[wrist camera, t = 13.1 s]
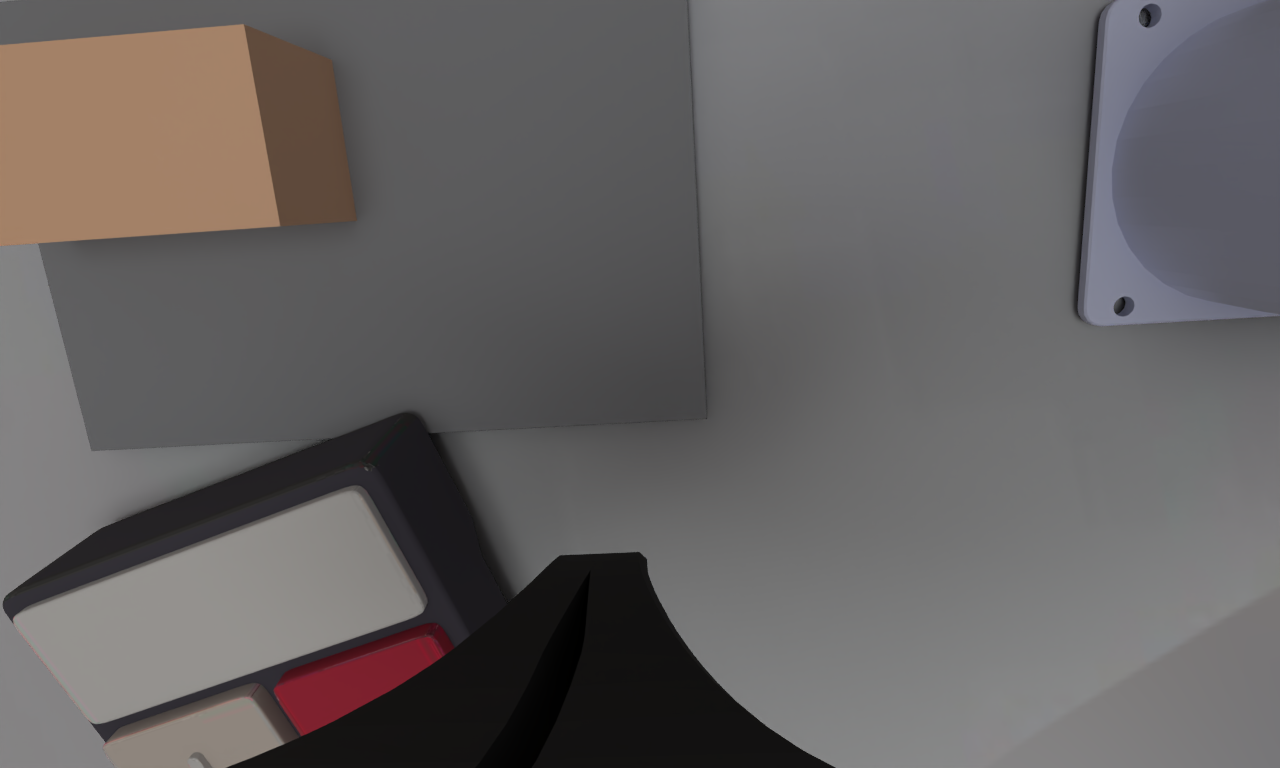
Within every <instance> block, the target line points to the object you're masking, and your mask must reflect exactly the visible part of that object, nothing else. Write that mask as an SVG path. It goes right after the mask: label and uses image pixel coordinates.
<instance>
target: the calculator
mask: <svg viewBox="0 0 1280 768" xmlns="http://www.w3.org/2000/svg"><path fill="white" fill-rule="evenodd" d="M506 605H507V602H506V601H505V599H504V597H503V595H502V593H501V591H500V589H499V587H498V585H497V584H496V582H495V580H494V578H493V576H492V574H491V572H490V570H489V568H488V567H487V565H486V563H485V561H484V559H483V557H482V554H481V551H480V547H479V543H478V539H477V535H476V531H475V528H474V524H473V520H472V517H471V515H470V513H469V511H468V509H467V507H466V505H465V503H464V502H463V500H462V498H461V496H460V494H459V492H458V490H457V488H456V486H455V484H454V482H453V481H452V479H451V477H450V475H449V473H448V471H447V469H446V467H445V465H444V463H443V461H442V460H441V458H440V456H439V454H438V452H437V450H436V448H435V446H434V444H433V442H432V440H431V439H430V437H429V435H428V433H427V431H426V429H425V427H424V425H423V424H422V422H421V421H420V419H419V418H418V417H417V416H415V415H413V414H410V413H401V414H397V415H394V416H391V417H389V418H386V419H384V420H381V421H378V422H376V423H373V424H371V425H368V426H365V427H363V428H360V429H358V430H355V431H352V432H350V433H347V434H345V435H342V436H339V437H337V438H334V439H332V440H329V441H326V442H324V443H321V444H319V445H316V446H313V447H311V448H308V449H306V450H303V451H300V452H298V453H295V454H293V455H290V456H287V457H285V458H282V459H280V460H277V461H274V462H272V463H269V464H267V465H264V466H261V467H259V468H256V469H254V470H251V471H248V472H246V473H243V474H241V475H238V476H235V477H233V478H230V479H228V480H225V481H222V482H220V483H217V484H215V485H212V486H209V487H207V488H204V489H202V490H199V491H196V492H194V493H191V494H189V495H186V496H183V497H181V498H178V499H176V500H173V501H170V502H168V503H165V504H163V505H160V506H157V507H155V508H152V509H150V510H147V511H144V512H142V513H139V514H137V515H134V516H131V517H129V518H126V519H124V520H121V521H118V522H116V523H113V524H111V525H108V526H106V527H103V528H101V529H99V530H98V531H96V532H95V533H93V534H92V535H90V536H89V537H87V538H86V539H85V540H83V541H82V542H80V543H79V544H78V545H76V546H75V547H73V548H72V549H71V550H69V551H68V552H66V553H65V554H63V555H62V556H61V557H59V558H58V559H56V560H55V561H54V562H52V563H51V564H49V565H48V566H46V567H45V568H44V569H42V570H41V571H39V572H38V573H37V574H35V575H34V576H32V577H31V578H29V579H28V580H27V581H25V582H24V583H23V584H21V585H20V586H18V587H17V588H16V589H14V590H13V591H12V592H10V593H9V594H8V595H7V596H6V597H5V598H4V601H3V609H4V611H5V613H6V614H7V616H8V617H9V619H10V620H11V621H12V623H13V624H14V625H15V627H16V629H17V630H18V631H19V633H20V634H21V635H22V637H23V638H24V639H25V640H26V642H27V643H28V644H29V646H30V647H31V648H32V649H33V651H34V652H35V653H36V655H37V656H38V657H39V658H40V660H41V661H42V662H43V664H44V665H45V666H46V667H47V669H48V670H49V671H50V673H51V674H52V675H53V676H54V678H55V679H56V680H57V682H58V683H59V684H60V685H61V687H62V688H63V689H64V691H65V692H66V693H67V694H68V696H69V697H70V698H71V700H72V701H73V702H74V703H75V705H76V706H77V707H78V709H79V710H80V711H81V712H82V714H83V715H84V716H85V717H86V718H87V719H88V720H89V721H90V723H91V724H92V725H93V727H94V728H95V729H96V730H97V732H98V733H99V734H100V736H101V737H102V738H103V739H104V741H105V742H106V743H105V744H104V746H103V750H104V752H105V754H106V755H107V757H108V758H109V760H110V761H111V762H112V764H113V765H114V766H115V767H116V768H226V767H229V766H231V765H234V764H236V763H239V762H242V761H244V760H247V759H249V758H252V757H254V756H257V755H259V754H262V753H264V752H266V751H269V750H271V749H273V748H276V747H278V746H281V745H283V744H285V743H288V742H290V741H292V740H294V739H297V738H299V737H301V736H303V735H305V734H308V733H310V732H312V731H314V730H316V729H318V728H321V727H323V726H325V725H327V724H329V723H331V722H333V721H335V720H337V719H339V718H340V717H342V716H344V715H346V714H348V713H350V712H352V711H353V710H355V709H357V708H359V707H361V706H363V705H365V704H366V703H368V702H370V701H372V700H374V699H376V698H377V697H379V696H381V695H383V694H385V693H387V692H389V691H390V690H392V689H394V688H395V687H397V686H399V685H400V684H402V683H404V682H405V681H407V680H408V679H410V678H411V677H413V676H414V675H416V674H417V673H419V672H421V671H422V670H424V669H425V668H427V667H428V666H430V665H431V664H433V663H434V662H436V661H437V660H438V659H440V658H441V657H443V656H444V655H446V654H447V653H448V652H450V651H451V650H452V649H454V648H455V647H456V646H458V645H459V644H460V643H461V642H462V641H464V640H465V639H466V638H467V637H469V636H470V635H471V634H472V633H474V632H475V631H476V630H477V629H479V628H480V627H481V626H482V625H483V624H485V623H486V622H487V621H488V620H490V619H491V618H492V617H493V616H495V615H496V614H497V613H498V612H499V611H500V610H501V609H503V608H504V607H505V606H506Z"/></svg>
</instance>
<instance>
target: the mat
mask: <svg viewBox="0 0 1280 768" xmlns="http://www.w3.org/2000/svg"><path fill="white" fill-rule="evenodd" d="M240 24H245V25H247V26H250V27H252V28H254V29H257V30H259V31H262V32H264V33H267V34H269V35H272V36H274V37H277V38H279V39H281V40H284V41H286V42H289V43H291V44H294V45H296V46H299V47H301V48H304V49H306V50H309V51H311V52H313V53H316V54H318V55H321V56H323V57H326V58H328V59H331V60H332V64H333V71H334V77H335V83H336V90H337V96H338V103H339V109H340V116H341V122H342V128H343V135H344V141H345V148H346V154H347V160H348V167H349V173H350V180H351V186H352V193H353V199H354V205H355V212H356V218H357V221H347V222H333V223H320V224H306V225H292V226H278V227H263V228H249V229H235V230H220V231H206V232H192V233H177V234H163V235H149V236H135V237H120V238H106V239H92V240H77V241H63V242H49V243H38V245H39V248H40V252H41V256H42V260H43V264H44V268H45V272H46V276H47V280H48V283H49V287H50V291H51V295H52V299H53V303H54V307H55V311H56V314H57V318H58V322H59V326H60V330H61V334H62V338H63V342H64V346H65V349H66V353H67V357H68V361H69V365H70V369H71V373H72V377H73V381H74V384H75V388H76V392H77V396H78V400H79V404H80V408H81V412H82V415H83V419H84V423H85V427H86V431H87V435H88V439H89V443H90V447H91V450H92V451H100V450H119V449H138V448H157V447H176V446H195V445H215V444H234V443H253V442H272V441H291V440H311V439H330V438H337V437H339V436H342V435H345V434H347V433H350V432H352V431H355V430H358V429H360V428H363V427H365V426H368V425H371V424H373V423H376V422H378V421H381V420H384V419H386V418H389V417H391V416H394V415H397V414H401V413H410V414H413V415H415V416H417V417H418V418H419V419H420V421H421V422H422V424H423V425H424V427H425V429H426V431H427V433H445V432H464V431H483V430H502V429H522V428H541V427H560V426H579V425H598V424H618V423H637V422H656V421H675V420H694V419H707V409H706V388H705V366H704V345H703V324H702V303H701V282H700V261H699V239H698V218H697V197H696V176H695V155H694V134H693V112H692V91H691V70H690V49H689V28H688V7H687V0H18V1H7V2H0V45H8V44H19V43H31V42H43V41H54V40H66V39H77V38H89V37H101V36H112V35H124V34H136V33H147V32H159V31H170V30H182V29H194V28H205V27H217V26H229V25H240Z"/></svg>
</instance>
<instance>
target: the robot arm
mask: <svg viewBox="0 0 1280 768" xmlns="http://www.w3.org/2000/svg"><path fill="white" fill-rule="evenodd" d="M1142 8H1146V9H1147V10H1148V11H1149V12H1150V13H1151V21H1150V24H1149V26H1148V27H1143V26H1142V25H1141V24H1140V22H1139V14H1140V11H1141V9H1142ZM1121 297H1123V298H1124V299H1125V303H1126V304H1125V307H1124V309H1123V310H1122V311H1121V312H1120V313H1117V314H1116V313H1115V312H1114V308H1113V307H1114V304H1115V302H1116V301H1117V300H1118V299H1119V298H1121ZM1078 314H1079V316H1080V317H1081V319H1082V320H1083V321H1085V322H1087V323H1089V324H1092V325H1096V326H1114V325H1131V324H1149V323H1166V322H1184V321H1201V320H1218V319H1236V318H1253V317H1271V316H1280V0H1114V1H1113V2H1111V3H1110V4H1108V5H1107V6H1106V7H1105V9H1104V10H1103V12H1102V13H1101V16H1100V20H1099V27H1098V41H1097V54H1096V67H1095V81H1094V94H1093V107H1092V121H1091V134H1090V147H1089V161H1088V174H1087V188H1086V201H1085V214H1084V228H1083V241H1082V254H1081V268H1080V281H1079V294H1078ZM226 768H835V767H833V766H831V765H829V764H827V763H826V762H824V761H822V760H820V759H818V758H816V757H814V756H812V755H810V754H808V753H807V752H805V751H803V750H801V749H800V748H798V747H797V746H795V745H794V744H792V743H791V742H789V741H788V740H786V739H785V738H783V737H782V736H780V735H779V734H777V733H776V732H774V731H773V730H771V729H770V728H768V727H767V726H765V725H764V724H763V723H762V722H760V721H759V720H758V719H757V718H756V717H754V716H753V715H752V714H751V713H750V712H748V711H747V710H746V709H745V708H743V707H742V706H741V705H740V704H739V703H737V702H736V701H735V700H734V699H733V698H732V697H731V696H730V695H729V694H728V693H727V692H726V691H725V690H724V689H723V688H722V687H721V686H720V685H719V684H718V683H717V682H716V681H715V679H714V678H713V677H712V676H711V675H710V674H709V673H708V672H707V671H706V669H705V668H704V667H703V666H702V665H701V663H700V662H699V661H698V660H697V659H696V657H695V656H694V655H693V653H692V652H691V651H690V649H689V648H688V647H687V645H686V644H685V642H684V641H683V639H682V638H681V637H680V635H679V634H678V632H677V631H676V629H675V627H674V626H673V624H672V623H671V621H670V619H669V618H668V616H667V614H666V612H665V610H664V608H663V607H662V605H661V603H660V601H659V599H658V597H657V595H656V593H655V591H654V588H653V586H652V583H651V581H650V578H649V575H648V568H647V559H646V558H645V557H644V556H643V555H642V554H641V553H640V552H631V553H608V554H584V555H560V556H559V557H557V558H556V559H555V560H554V561H553V562H552V563H551V564H550V565H548V566H547V567H546V568H545V569H544V570H543V571H542V572H541V573H540V574H539V575H538V576H537V577H536V578H535V579H534V580H533V581H532V582H531V583H530V584H529V585H528V586H527V587H525V588H524V589H523V590H522V591H521V592H520V593H519V594H518V595H517V596H516V597H515V598H513V599H512V600H511V601H510V602H509V603H508V604H507V605H506V606H505V607H504V608H503V609H501V610H500V611H499V612H498V613H497V614H496V615H495V616H493V617H492V618H491V619H490V620H488V621H487V622H486V623H485V624H483V625H482V626H481V627H480V628H479V629H477V630H476V631H475V632H474V633H472V634H471V635H470V636H469V637H467V638H466V639H465V640H464V641H462V642H461V643H460V644H459V645H458V646H456V647H455V648H454V649H452V650H451V651H450V652H448V653H447V654H446V655H444V656H443V657H441V658H440V659H438V660H437V661H436V662H434V663H433V664H431V665H430V666H428V667H427V668H425V669H424V670H422V671H421V672H419V673H417V674H416V675H414V676H413V677H411V678H410V679H408V680H407V681H405V682H404V683H402V684H400V685H399V686H397V687H395V688H394V689H392V690H390V691H389V692H387V693H385V694H383V695H381V696H379V697H377V698H376V699H374V700H372V701H370V702H368V703H366V704H365V705H363V706H361V707H359V708H357V709H355V710H353V711H352V712H350V713H348V714H346V715H344V716H342V717H340V718H339V719H337V720H335V721H333V722H331V723H329V724H327V725H325V726H323V727H321V728H318V729H316V730H314V731H312V732H310V733H308V734H305V735H303V736H301V737H299V738H297V739H294V740H292V741H290V742H288V743H285V744H283V745H281V746H278V747H276V748H273V749H271V750H269V751H266V752H264V753H262V754H259V755H257V756H254V757H252V758H249V759H247V760H244V761H242V762H239V763H236V764H234V765H231V766H229V767H226Z"/></svg>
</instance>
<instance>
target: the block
mask: <svg viewBox="0 0 1280 768" xmlns="http://www.w3.org/2000/svg"><path fill="white" fill-rule="evenodd" d="M347 221H357V218H356V212H355V205H354V199H353V193H352V186H351V180H350V173H349V167H348V160H347V154H346V148H345V141H344V135H343V128H342V122H341V116H340V109H339V103H338V96H337V90H336V83H335V77H334V71H333V64H332V60H331V59H328V58H326V57H323V56H321V55H318V54H316V53H313V52H311V51H309V50H306V49H304V48H301V47H299V46H296V45H294V44H291V43H289V42H286V41H284V40H281V39H279V38H277V37H274V36H272V35H269V34H267V33H264V32H262V31H259V30H257V29H254V28H252V27H250V26H247V25H245V24H240V25H229V26H217V27H205V28H194V29H182V30H170V31H159V32H147V33H136V34H124V35H112V36H101V37H89V38H77V39H66V40H54V41H43V42H31V43H19V44H8V45H0V246H6V245H20V244H34V243H49V242H63V241H77V240H92V239H106V238H120V237H135V236H149V235H163V234H177V233H192V232H206V231H220V230H235V229H249V228H263V227H278V226H292V225H306V224H320V223H333V222H347Z"/></svg>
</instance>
